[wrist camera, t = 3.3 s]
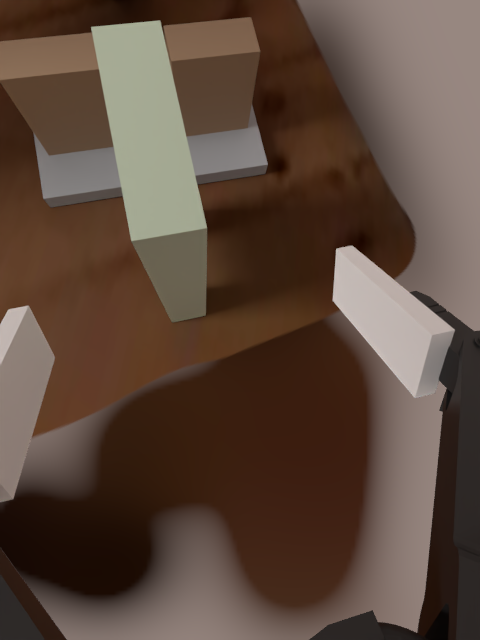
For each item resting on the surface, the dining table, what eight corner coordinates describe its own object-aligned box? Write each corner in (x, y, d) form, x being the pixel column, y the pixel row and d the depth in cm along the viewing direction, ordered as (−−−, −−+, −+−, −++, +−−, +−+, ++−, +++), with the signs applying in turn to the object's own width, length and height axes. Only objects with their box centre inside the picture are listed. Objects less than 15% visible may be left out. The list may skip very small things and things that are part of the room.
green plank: (172, 322, 32) (131, 241, 14) (151, 217, 33) (91, 26, 16) (205, 315, 32) (207, 228, 15) (183, 212, 34) (160, 20, 16)
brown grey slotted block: (50, 207, 33) (-11, 135, 23) (34, 101, 34) (-29, -6, 25) (265, 173, 35) (286, 97, 26) (240, 76, 37) (251, -28, 28)
